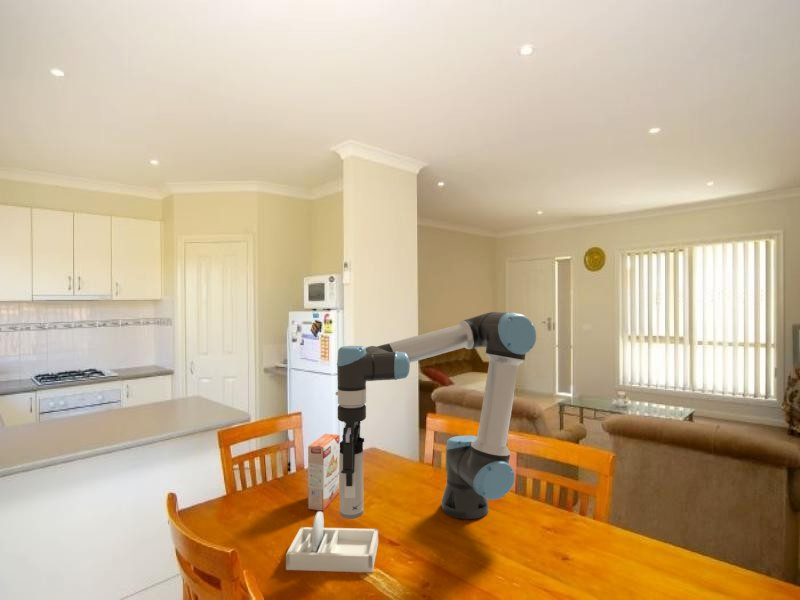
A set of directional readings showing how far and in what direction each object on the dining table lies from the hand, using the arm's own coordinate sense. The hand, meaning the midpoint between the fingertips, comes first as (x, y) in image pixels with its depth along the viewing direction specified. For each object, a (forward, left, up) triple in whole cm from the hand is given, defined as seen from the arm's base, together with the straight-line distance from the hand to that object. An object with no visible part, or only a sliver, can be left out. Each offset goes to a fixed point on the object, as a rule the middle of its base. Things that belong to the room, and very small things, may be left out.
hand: (352, 491), depth 116 cm
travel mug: (0, 0, -6) cm, 6 cm away
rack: (+5, 0, -17) cm, 18 cm away
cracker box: (+15, -31, -18) cm, 39 cm away
